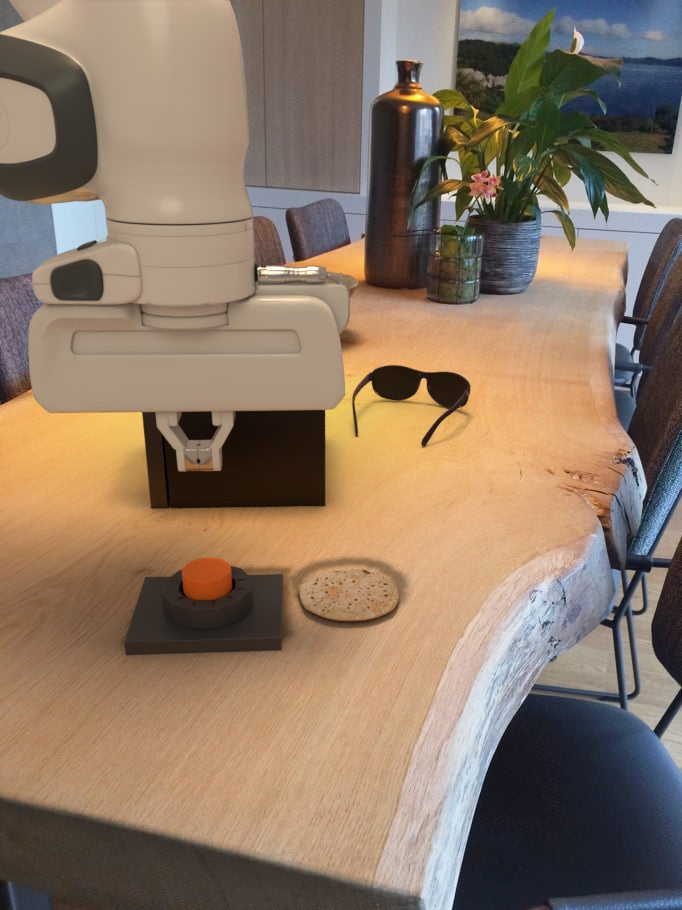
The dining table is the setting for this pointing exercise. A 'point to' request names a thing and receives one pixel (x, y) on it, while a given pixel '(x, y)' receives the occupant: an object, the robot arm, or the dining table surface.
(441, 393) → the sunglasses
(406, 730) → the dining table surface
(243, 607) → the block
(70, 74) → the robot arm
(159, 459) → the oven door
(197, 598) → the button
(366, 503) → the dining table surface
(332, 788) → the dining table surface
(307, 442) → the mini oven
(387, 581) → the flatbread
